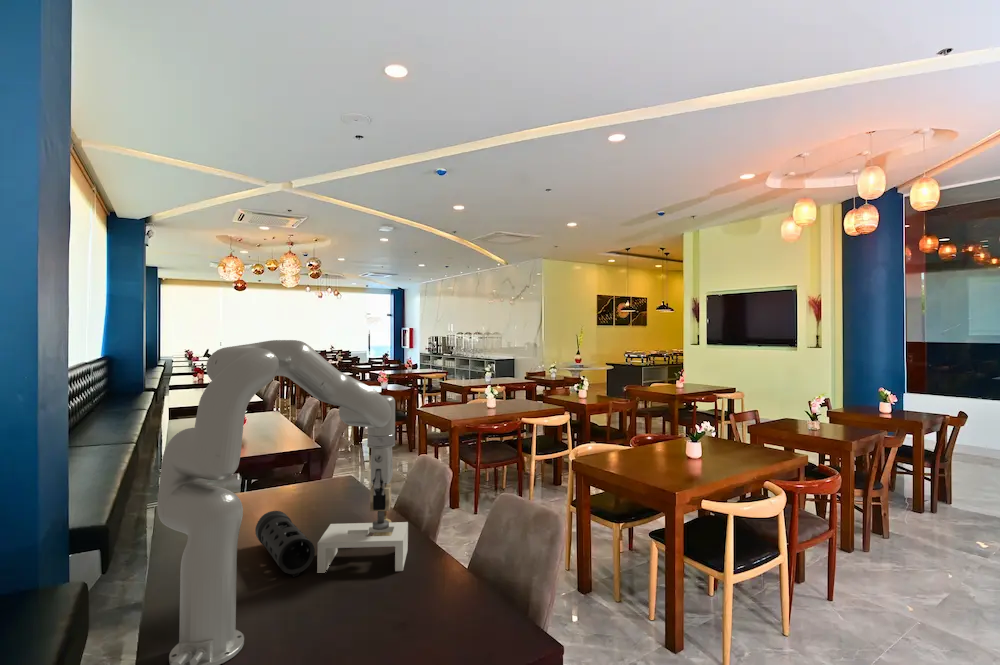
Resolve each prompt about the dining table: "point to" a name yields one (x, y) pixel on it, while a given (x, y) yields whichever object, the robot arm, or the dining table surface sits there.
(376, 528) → the peg
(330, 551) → the keyhole stand
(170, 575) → the dining table surface
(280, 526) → the muzzle brake
